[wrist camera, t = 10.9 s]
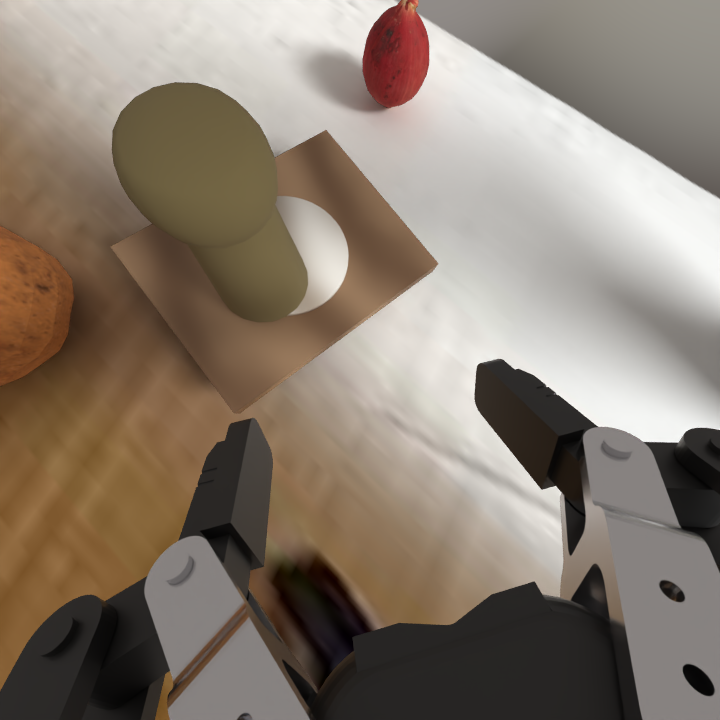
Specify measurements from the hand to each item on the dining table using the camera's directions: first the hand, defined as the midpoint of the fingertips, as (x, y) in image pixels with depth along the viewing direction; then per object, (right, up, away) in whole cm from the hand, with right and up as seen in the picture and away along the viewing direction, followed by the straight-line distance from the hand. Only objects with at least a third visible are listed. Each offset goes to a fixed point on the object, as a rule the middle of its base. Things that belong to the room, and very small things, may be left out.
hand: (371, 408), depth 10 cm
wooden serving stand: (-6, +8, +14) cm, 18 cm away
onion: (+2, +28, +19) cm, 34 cm away
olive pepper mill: (-7, +7, +9) cm, 14 cm away
